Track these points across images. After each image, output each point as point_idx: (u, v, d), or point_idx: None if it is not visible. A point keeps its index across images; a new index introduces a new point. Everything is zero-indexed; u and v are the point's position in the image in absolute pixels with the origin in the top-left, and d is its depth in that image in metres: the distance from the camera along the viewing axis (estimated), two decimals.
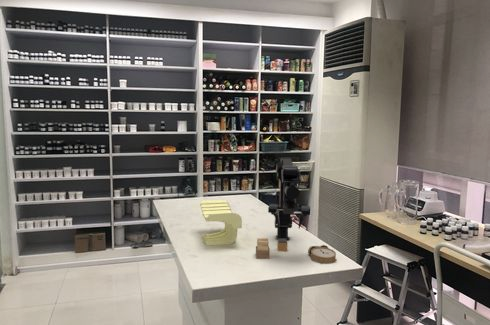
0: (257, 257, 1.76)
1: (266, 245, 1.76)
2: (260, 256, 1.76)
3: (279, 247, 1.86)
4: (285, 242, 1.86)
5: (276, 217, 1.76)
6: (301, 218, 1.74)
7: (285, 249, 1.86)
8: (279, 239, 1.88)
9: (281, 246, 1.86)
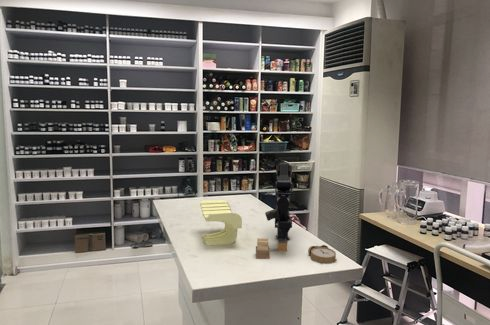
0: (257, 257, 1.76)
1: (266, 245, 1.76)
2: (260, 256, 1.76)
3: (279, 247, 1.86)
4: (285, 242, 1.86)
5: None
6: (280, 229, 1.81)
7: (285, 249, 1.86)
8: (279, 239, 1.88)
9: (281, 246, 1.86)
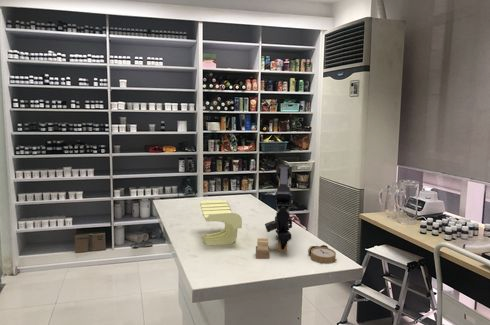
0: (257, 257, 1.76)
1: (266, 245, 1.76)
2: (260, 256, 1.76)
3: (279, 247, 1.86)
4: None
5: None
6: None
7: (285, 249, 1.86)
8: (279, 239, 1.88)
9: None
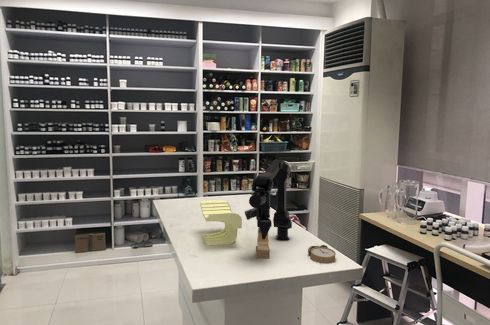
0: (257, 257, 1.76)
1: (266, 245, 1.76)
2: (260, 256, 1.76)
3: (259, 237, 1.76)
4: None
5: None
6: None
7: (266, 239, 1.76)
8: (260, 229, 1.78)
9: (261, 236, 1.76)
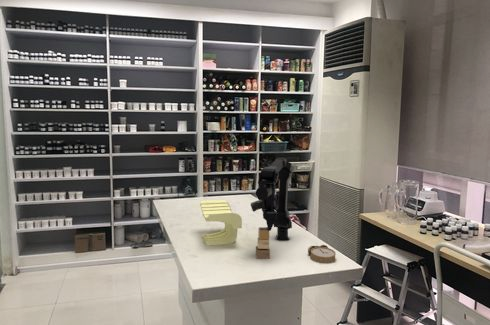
0: (257, 257, 1.76)
1: (267, 243, 1.76)
2: (260, 256, 1.76)
3: (261, 235, 1.77)
4: (267, 229, 1.77)
5: None
6: (266, 220, 1.75)
7: (267, 237, 1.77)
8: (260, 227, 1.80)
9: (263, 233, 1.77)
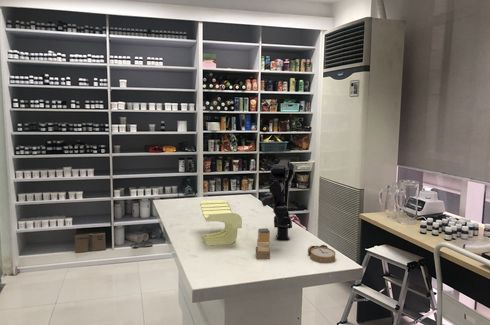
0: (257, 258, 1.75)
1: (267, 246, 1.75)
2: (260, 256, 1.75)
3: (261, 238, 1.75)
4: (267, 232, 1.75)
5: None
6: (276, 215, 1.82)
7: (267, 239, 1.76)
8: (260, 229, 1.77)
9: (263, 236, 1.75)
